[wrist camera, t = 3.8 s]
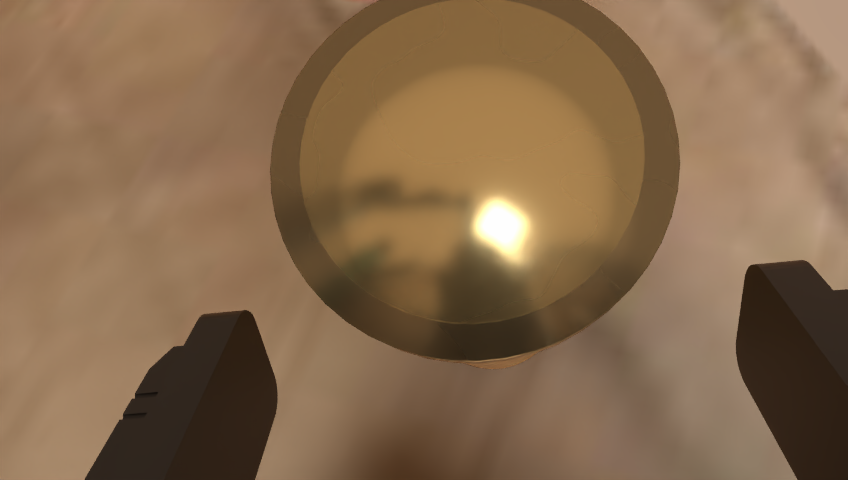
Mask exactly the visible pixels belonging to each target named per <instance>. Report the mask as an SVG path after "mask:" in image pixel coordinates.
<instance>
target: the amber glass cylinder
mask: <svg viewBox="0 0 848 480" xmlns="http://www.w3.org/2000/svg"><path fill="white" fill-rule="evenodd" d="M679 170H680V156H679V140H678V134H677V129H676V124H675V119H674V115H673V111H672V108H671V105H670V103H669V100H668V97H667V95H666V92H665V89H664V87H663V85H662V83H661V81H660V79H659V78H658V76H657V74H656V72H655V70H654V68H653V66H652V65H651V64H650V62H649V61H648V59H647V58H646V57H645V55H644V54H643V53H642V51H641V50H640V48H639V47H638V46H637V45H636V44H635V42H634V41H633V40H632V39H631V38H630V37H629V36H628V35H627V34H626V33H625V32H624V31H623V30H622V29H621V28H620V27H619V26H618V25H616V24H615V23H614V22H613V21H611V20H610V19H609V18H608V17H606V16H605V15H604V14H603V13H601V12H600V11H599V10H597V9H595V8H594V7H592V6H590V5H589V4H587V3H585V2H584V1H582V0H379V1H377V2H375V3H374V4H372V5H370V6H368V7H366V8H365V9H363V10H362V11H360V12H359V13H358V14H356V15H355V16H353V17H352V18H351V19H349V20H348V21H346V22H345V23H344V24H343V25H342V26H341V27H339V28H338V29H337V30H336V31H335V32H334V33H333V34H332V35H331V36H329V37H328V38H327V39H326V40H325V42H324V43H323V44H322V45H321V46H320V47H319V48H318V50H317V51H316V52H315V53H314V54H313V55H312V56H311V58H310V59H309V61H308V62H307V64H306V65H305V66H304V68H303V69H302V71H301V72H300V74H299V75H298V77H297V79H296V81H295V82H294V84H293V86H292V88H291V90H290V92H289V94H288V96H287V98H286V100H285V103H284V106H283V109H282V111H281V114H280V117H279V119H278V123H277V127H276V132H275V136H274V141H273V146H272V156H271V167H270V173H271V194H272V200H273V205H274V211H275V217H276V220H277V223H278V226H279V229H280V232H281V235H282V239H283V241H284V243H285V245H286V248H287V250H288V252H289V254H290V256H291V258H292V260H293V262H294V264H295V265H296V267H297V268H298V270H299V271H300V273H301V274H302V276H303V277H304V279H305V280H306V282H307V283H308V285H309V286H310V287H311V288H312V289H313V290H314V291H315V293H316V294H317V295H318V296H319V297H320V298H321V299H322V300H323V302H324V303H325V304H326V305H327V306H329V307H330V308H331V309H332V310H333V311H334V312H336V313H337V314H338V315H339V316H340V317H342V318H343V319H344V320H345V321H346V322H348V323H349V324H351V325H353V326H354V327H356V328H357V329H359V330H361V331H362V332H364V333H365V334H367V335H368V336H370V337H373V338H375V339H377V340H379V341H381V342H383V343H386V344H388V345H390V346H392V347H394V348H397V349H399V350H401V351H404V352H407V353H411V354H414V355H417V356H420V357H424V358H427V359H433V360H439V361H445V362H452V363H466V364H468V365H471V366H474V367H478V368H484V369H500V368H507V367H511V366H514V365H517V364H519V363H522V362H524V361H525V360H527V359H529V358H531V357H532V356H533V355H535V354H536V353H537V352H540V351H542V350H545V349H548V348H550V347H553V346H555V345H558V344H560V343H561V342H563V341H565V340H567V339H569V338H570V337H572V336H574V335H576V334H578V333H580V332H581V331H583V330H584V329H585V328H587V327H588V326H589V325H591V324H592V323H593V322H595V321H596V320H597V319H599V318H600V317H601V316H603V315H604V314H605V313H606V312H607V311H609V310H610V309H611V308H612V307H613V306H614V305H615V304H616V303H617V302H618V301H619V300H620V299H621V298H622V297H623V296H624V295H625V294H626V293H627V292H628V291H629V290H630V289H631V288H632V287H633V285H634V284H635V283H636V281H637V280H638V279H639V278H640V276H641V275H642V274H643V272H644V271H645V270H646V268H647V267H648V266H649V264H650V262H651V260H652V259H653V257H654V255H655V253H656V251H657V250H658V248H659V246H660V244H661V243H662V240H663V238H664V235H665V233H666V230H667V227H668V225H669V222H670V220H671V217H672V213H673V209H674V205H675V200H676V196H677V192H678V182H679Z"/></svg>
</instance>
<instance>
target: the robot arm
mask: <svg viewBox="0 0 848 480" xmlns="http://www.w3.org/2000/svg"><path fill="white" fill-rule="evenodd" d="M736 355H737V361H738V366H739V370H740V373H741V376H742V378H743V381H744V383H745V385H746V386H747V388H748V390H749V392H750V394H751V396H752V397H753V399H754V401H755V403H756V405H757V406H758V408H759V410H760V412H761V414H762V416H763V417H764V419H765V421H766V423H767V425H768V427H769V428H770V430H771V432H772V434H773V436H774V437H775V439H776V441H777V443H778V445H779V447H780V448H781V450H782V452H783V454H784V456H785V458H786V459H787V461H788V463H789V465H790V467H791V469H792V470H793V472H794V474H795V476H796V478H797V479H798V480H848V290H847V289H845V290H834V291H833V290H832V289H831V287H830V286H829V285H828V284H827V283H826V282H825V280H824V279H823V278H822V277H821V276H820V275H819V274H818V272H817V271H816V270H815V269H814V268H813V267H812V265H811V264H809V263H808V262H807V261H804V260H798V261H787V262H777V263H766V264H755V265H751V266H749V268H748V269H747V271H746V274H745V280H744V287H743V294H742V302H741V309H740V316H739V324H738V331H737V338H736ZM276 409H277V384H276V379H275V376H274V373H273V370H272V367H271V364H270V361H269V358H268V356H267V353H266V350H265V347H264V344H263V341H262V338H261V335H260V333H259V330H258V327H257V324H256V321H255V319H254V317H253V315H252V314H251V312H249V311H247V310H243V311H232V312H222V313H211V314H203V315H202V316H201V317H200V318H199V319H198V321H197V322H196V324H195V326H194V328H193V330H192V332H191V333H190V335H189V337H188V339H187V341H186V343H185V344H184V346H176V347H173V348H172V349H171V350H170V351H169V352H167V353H166V354H165V355H164V356H163V357H162V358H161V359H160V360H159V361H158V362H157V363H155V364H154V365H153V366H152V367H151V368H150V369H149V371H148V372H147V374H146V376H145V377H144V379H143V381H142V383H141V384H140V386H139V388H138V389H137V391H136V393H135V399H132V400H131V401H130V403H129V405H128V406H127V408H126V410H125V411H124V413H123V420H119V422H118V423H117V425H116V427H115V428H114V430H113V432H112V434H111V435H110V437H109V439H108V440H107V442H106V444H105V446H104V447H103V449H102V451H101V452H100V454H99V456H98V457H97V459H96V461H95V463H94V464H93V466H92V468H91V469H90V471H89V473H88V474H87V476H86V478H85V480H255V478H256V475H257V471H258V468H259V465H260V462H261V459H262V456H263V452H264V449H265V446H266V443H267V440H268V437H269V433H270V430H271V427H272V424H273V421H274V418H275V414H276Z"/></svg>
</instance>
